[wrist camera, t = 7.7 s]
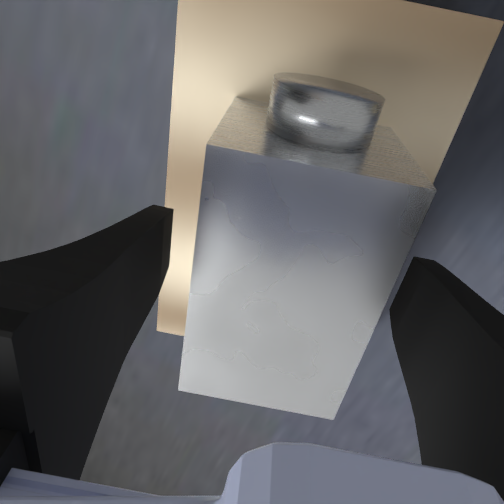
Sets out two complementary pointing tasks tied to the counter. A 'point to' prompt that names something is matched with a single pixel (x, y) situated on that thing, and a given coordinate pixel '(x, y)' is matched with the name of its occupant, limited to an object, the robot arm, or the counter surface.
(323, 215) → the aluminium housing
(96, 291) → the robot arm
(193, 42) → the wood stand
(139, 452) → the counter surface
